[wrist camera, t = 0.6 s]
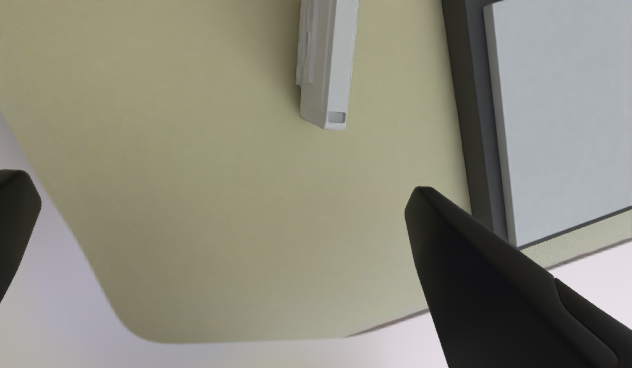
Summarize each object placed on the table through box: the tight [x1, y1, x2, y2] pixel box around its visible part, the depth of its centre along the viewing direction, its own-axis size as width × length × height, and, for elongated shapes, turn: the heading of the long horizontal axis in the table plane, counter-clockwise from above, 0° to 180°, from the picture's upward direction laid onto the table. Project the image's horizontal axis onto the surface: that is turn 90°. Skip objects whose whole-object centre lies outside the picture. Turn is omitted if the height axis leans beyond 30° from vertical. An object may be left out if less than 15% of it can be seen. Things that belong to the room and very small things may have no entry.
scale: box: [442, 0, 632, 251], centre depth 22 cm, size 19×17×3 cm
